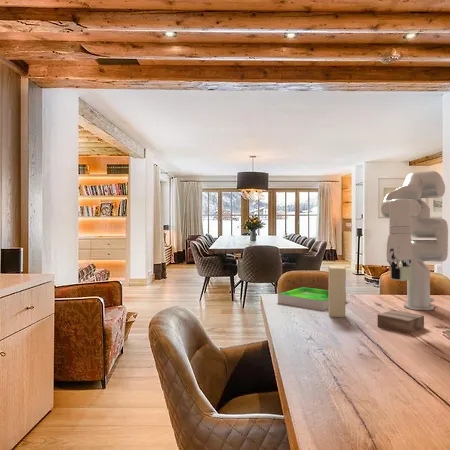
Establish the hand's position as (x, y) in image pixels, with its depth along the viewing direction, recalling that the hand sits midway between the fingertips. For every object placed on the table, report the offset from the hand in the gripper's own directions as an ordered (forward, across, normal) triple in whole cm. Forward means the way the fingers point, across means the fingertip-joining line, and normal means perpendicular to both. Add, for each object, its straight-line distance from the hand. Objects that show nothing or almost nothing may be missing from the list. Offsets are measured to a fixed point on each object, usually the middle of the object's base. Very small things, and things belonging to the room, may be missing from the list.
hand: (400, 277), depth 142 cm
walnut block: (+19, 0, 0) cm, 19 cm away
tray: (+20, -3, -51) cm, 55 cm away
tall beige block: (+19, +6, -26) cm, 33 cm away
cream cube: (+1, 0, 0) cm, 1 cm away
